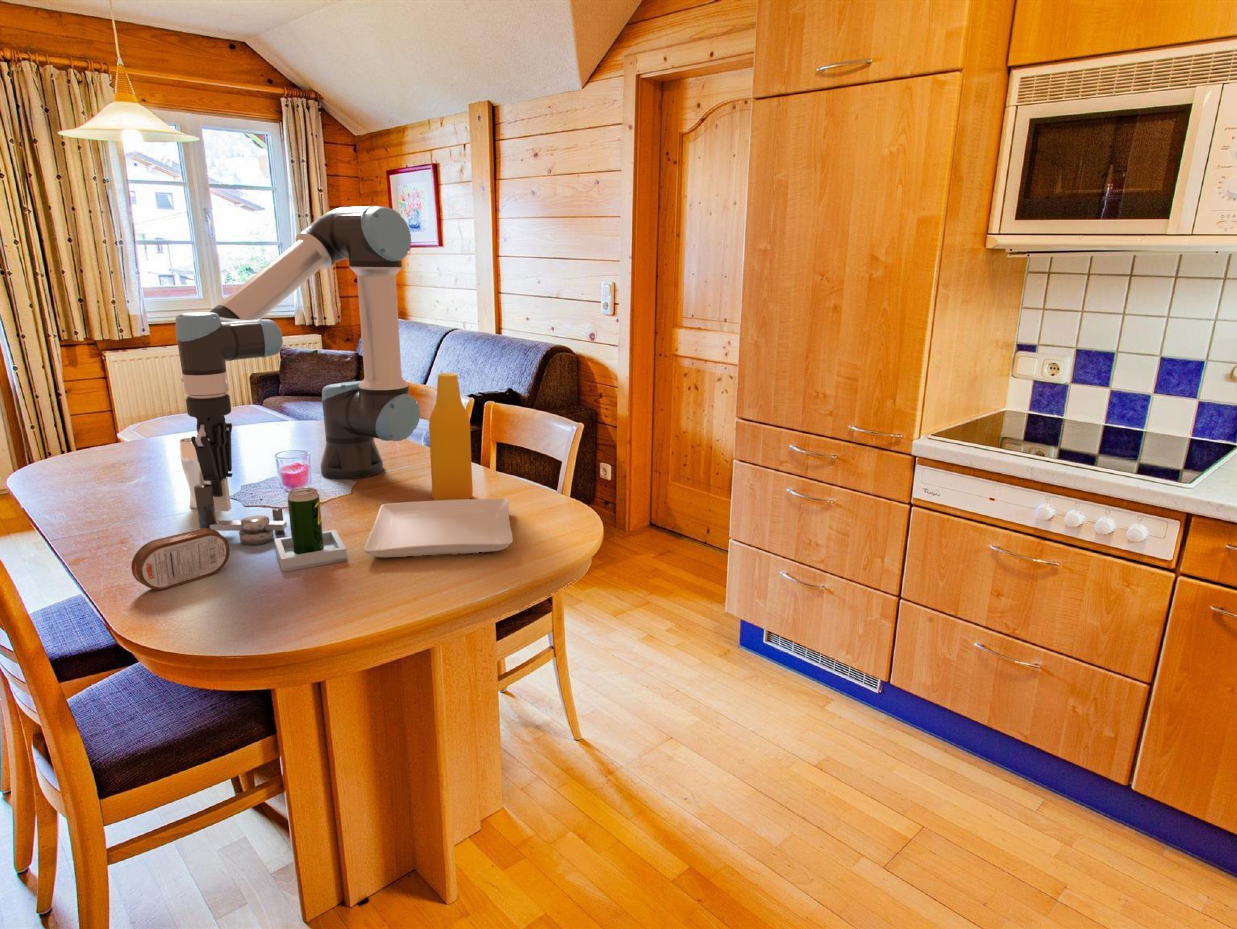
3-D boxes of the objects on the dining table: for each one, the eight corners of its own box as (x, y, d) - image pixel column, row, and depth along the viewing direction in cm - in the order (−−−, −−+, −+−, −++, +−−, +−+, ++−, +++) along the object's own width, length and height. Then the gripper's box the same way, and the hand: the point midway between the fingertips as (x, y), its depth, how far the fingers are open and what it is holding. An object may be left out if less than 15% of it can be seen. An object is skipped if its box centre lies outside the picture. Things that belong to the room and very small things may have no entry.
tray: (336, 541, 147) (335, 529, 147) (347, 560, 138) (346, 548, 137) (275, 550, 142) (274, 538, 141) (282, 571, 133) (281, 559, 132)
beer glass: (208, 510, 163) (199, 443, 158) (180, 508, 164) (170, 441, 160) (230, 501, 169) (222, 436, 165) (203, 498, 170) (194, 434, 166)
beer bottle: (431, 505, 169) (425, 378, 161) (432, 493, 177) (426, 371, 170) (473, 504, 171) (469, 377, 163) (472, 491, 179) (468, 371, 171)
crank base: (283, 530, 152) (281, 507, 151) (287, 540, 147) (285, 516, 146) (177, 546, 143) (173, 521, 142) (177, 557, 138) (173, 532, 137)
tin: (226, 565, 135) (220, 521, 133) (235, 569, 133) (229, 525, 131) (134, 593, 124) (126, 545, 122) (142, 598, 122) (134, 550, 120)
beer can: (295, 560, 136) (289, 497, 133) (291, 550, 141) (284, 489, 137) (326, 555, 139) (321, 493, 136) (321, 545, 143) (315, 485, 140)
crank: (289, 524, 149) (285, 482, 147) (280, 533, 144) (275, 490, 142) (206, 523, 148) (201, 482, 146) (194, 533, 143) (188, 490, 141)
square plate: (508, 512, 167) (508, 496, 166) (513, 560, 141) (513, 541, 140) (382, 517, 162) (381, 500, 161) (363, 568, 136) (361, 548, 135)
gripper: (202, 388, 150) (217, 499, 157) (170, 400, 138) (188, 521, 144) (241, 388, 151) (254, 499, 157) (212, 401, 138) (228, 521, 145)
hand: (222, 509), depth 151 cm, fingers closed
